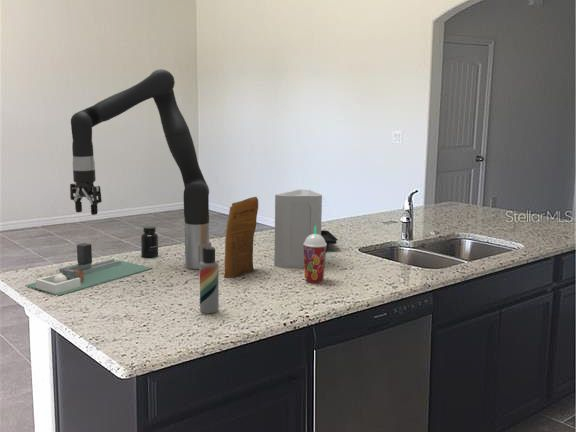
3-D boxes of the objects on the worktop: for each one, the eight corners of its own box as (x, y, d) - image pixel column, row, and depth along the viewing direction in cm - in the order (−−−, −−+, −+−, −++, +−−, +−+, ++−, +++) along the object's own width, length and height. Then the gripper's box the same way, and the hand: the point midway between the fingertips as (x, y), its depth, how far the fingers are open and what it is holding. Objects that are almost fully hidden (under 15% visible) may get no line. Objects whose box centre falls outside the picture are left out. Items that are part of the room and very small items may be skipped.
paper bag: (306, 272, 234) (307, 198, 229) (273, 266, 242) (274, 194, 236) (330, 261, 250) (332, 192, 244) (299, 256, 257) (300, 189, 252)
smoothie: (328, 279, 226) (329, 225, 222) (322, 285, 218) (323, 229, 214) (306, 276, 228) (307, 223, 224) (299, 282, 220) (300, 227, 217)
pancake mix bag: (263, 269, 237) (264, 196, 232) (231, 280, 222) (230, 203, 217) (250, 266, 241) (250, 194, 236) (217, 277, 226) (216, 201, 220)
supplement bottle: (154, 258, 250) (153, 229, 248) (138, 257, 251) (137, 228, 249) (161, 254, 257) (160, 226, 254) (145, 253, 258) (144, 225, 256)
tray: (267, 245, 275) (267, 234, 274) (297, 236, 294) (297, 226, 293) (325, 256, 258) (325, 244, 258) (353, 246, 277) (353, 234, 276)
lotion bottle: (200, 307, 193) (199, 244, 189) (218, 307, 194) (218, 244, 190) (199, 313, 188) (198, 249, 184) (218, 313, 188) (218, 249, 184)
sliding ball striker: (107, 274, 224) (106, 247, 222) (79, 282, 214) (78, 254, 212) (86, 269, 230) (85, 242, 229) (58, 276, 221) (57, 249, 219)
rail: (121, 264, 239) (120, 260, 238) (57, 281, 216) (57, 277, 216) (113, 262, 241) (113, 258, 241) (50, 279, 218) (49, 275, 218)
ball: (69, 287, 211) (70, 274, 210) (58, 288, 207) (59, 275, 207) (61, 285, 213) (62, 272, 213) (49, 286, 209) (51, 273, 209)
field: (152, 268, 235) (152, 267, 235) (58, 296, 202) (58, 295, 202) (120, 261, 245) (120, 260, 245) (25, 286, 212) (25, 285, 212)
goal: (80, 286, 211) (80, 278, 210) (55, 293, 203) (55, 285, 202) (61, 281, 217) (61, 272, 216) (36, 288, 209) (35, 279, 208)
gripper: (105, 169, 221) (107, 213, 224) (79, 166, 229) (82, 209, 232) (88, 171, 215) (90, 217, 218) (62, 168, 223) (65, 212, 226)
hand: (86, 213), depth 225 cm, fingers open, 8 cm apart
